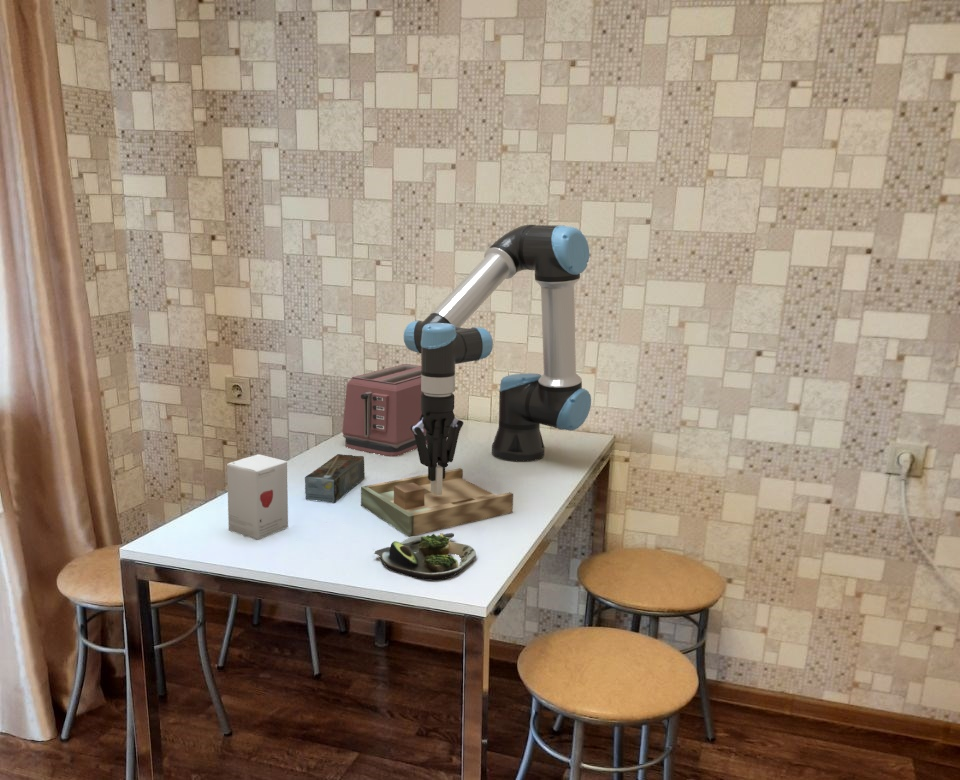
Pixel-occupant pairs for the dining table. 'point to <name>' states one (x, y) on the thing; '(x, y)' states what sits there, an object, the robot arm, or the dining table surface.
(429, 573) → the salad plate
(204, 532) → the dining table surface
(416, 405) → the toaster
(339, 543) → the dining table surface
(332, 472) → the beverage carton
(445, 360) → the robot arm
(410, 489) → the block
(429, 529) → the box
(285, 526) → the supplement box
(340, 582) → the dining table surface
